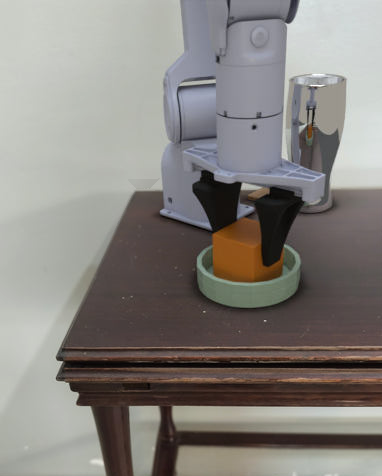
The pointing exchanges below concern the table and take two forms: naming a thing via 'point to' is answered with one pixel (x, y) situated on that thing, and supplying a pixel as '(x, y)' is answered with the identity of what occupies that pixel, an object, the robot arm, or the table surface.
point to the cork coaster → (258, 194)
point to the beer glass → (315, 127)
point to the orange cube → (242, 254)
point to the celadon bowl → (249, 292)
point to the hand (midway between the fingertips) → (248, 254)
